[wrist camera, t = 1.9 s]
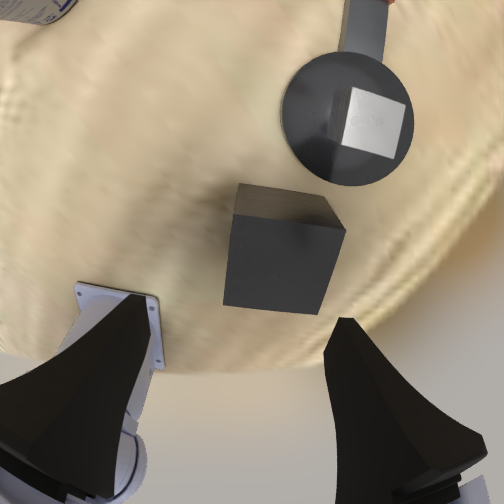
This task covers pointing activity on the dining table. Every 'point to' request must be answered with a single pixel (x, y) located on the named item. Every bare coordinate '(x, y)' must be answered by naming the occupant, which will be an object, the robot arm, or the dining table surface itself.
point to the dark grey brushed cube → (281, 250)
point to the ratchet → (350, 104)
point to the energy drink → (34, 10)
